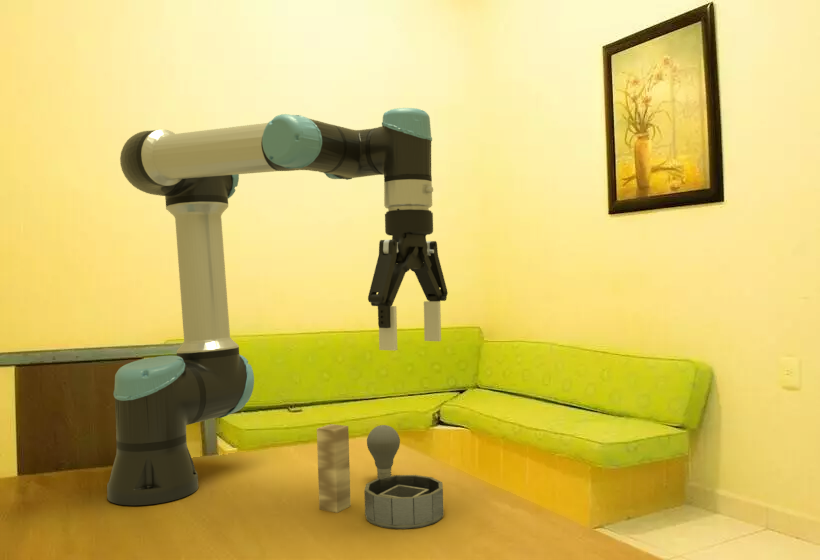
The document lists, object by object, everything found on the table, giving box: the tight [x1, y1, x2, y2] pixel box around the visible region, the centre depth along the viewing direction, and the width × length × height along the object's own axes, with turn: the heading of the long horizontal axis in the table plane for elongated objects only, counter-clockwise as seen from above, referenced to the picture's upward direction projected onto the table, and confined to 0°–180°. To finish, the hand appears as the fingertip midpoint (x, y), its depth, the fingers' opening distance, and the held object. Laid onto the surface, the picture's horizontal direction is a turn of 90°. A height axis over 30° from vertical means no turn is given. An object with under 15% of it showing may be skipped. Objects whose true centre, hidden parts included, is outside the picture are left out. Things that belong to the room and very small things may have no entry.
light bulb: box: [366, 424, 401, 479], centre depth 130 cm, size 6×6×10 cm
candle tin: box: [363, 474, 444, 530], centre depth 111 cm, size 12×12×4 cm
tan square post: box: [316, 423, 352, 514], centre depth 116 cm, size 4×4×13 cm
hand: (411, 345), depth 113 cm, fingers open, 13 cm apart
